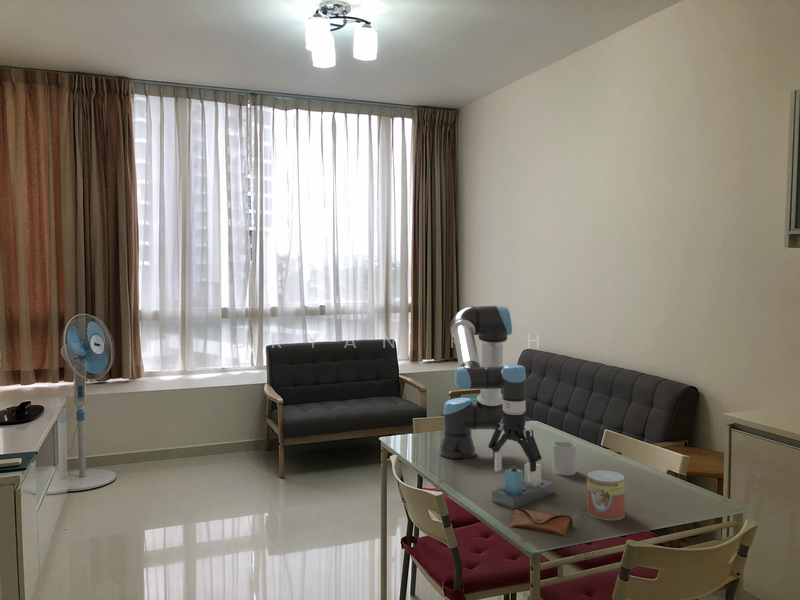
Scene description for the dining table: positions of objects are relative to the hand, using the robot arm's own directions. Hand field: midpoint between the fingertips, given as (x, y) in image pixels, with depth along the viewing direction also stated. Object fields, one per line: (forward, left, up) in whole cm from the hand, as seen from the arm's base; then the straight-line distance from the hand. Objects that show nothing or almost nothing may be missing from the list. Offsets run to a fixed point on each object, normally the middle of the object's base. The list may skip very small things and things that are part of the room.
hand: (514, 475), depth 197 cm
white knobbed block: (0, +10, -8) cm, 13 cm away
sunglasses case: (+18, -10, -9) cm, 22 cm away
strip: (0, +5, -9) cm, 10 cm away
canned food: (+25, +14, -9) cm, 30 cm away
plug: (0, 0, -8) cm, 8 cm away
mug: (-8, +39, -9) cm, 41 cm away
